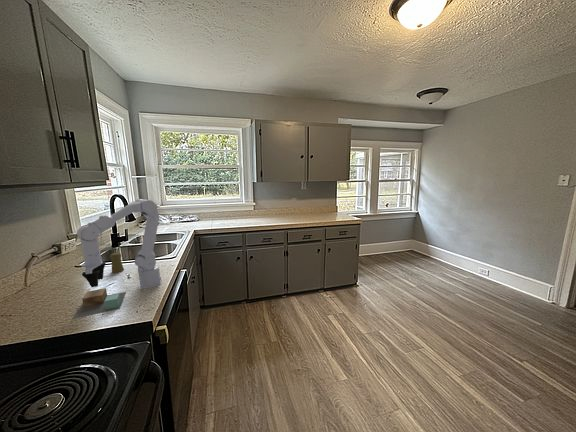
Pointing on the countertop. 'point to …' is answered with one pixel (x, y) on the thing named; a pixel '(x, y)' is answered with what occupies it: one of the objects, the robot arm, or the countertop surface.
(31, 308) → the countertop surface
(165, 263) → the countertop surface
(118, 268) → the cork
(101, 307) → the mat
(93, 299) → the walnut block
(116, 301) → the teal block
